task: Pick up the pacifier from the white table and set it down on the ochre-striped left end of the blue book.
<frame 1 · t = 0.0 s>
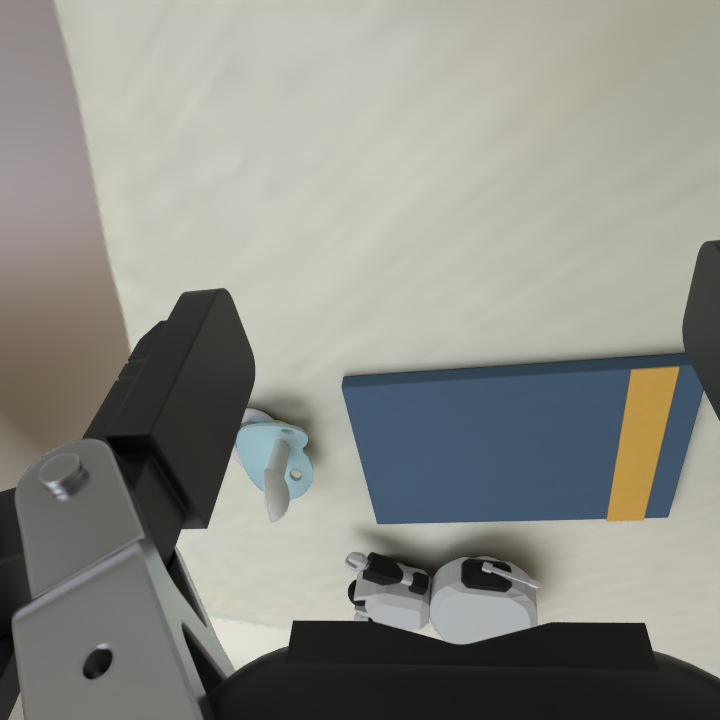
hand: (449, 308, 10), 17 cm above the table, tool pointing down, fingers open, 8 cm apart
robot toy: (439, 570, 49), on the table
blue book: (514, 445, 38), on the table
pacifier: (270, 434, 40), on the table
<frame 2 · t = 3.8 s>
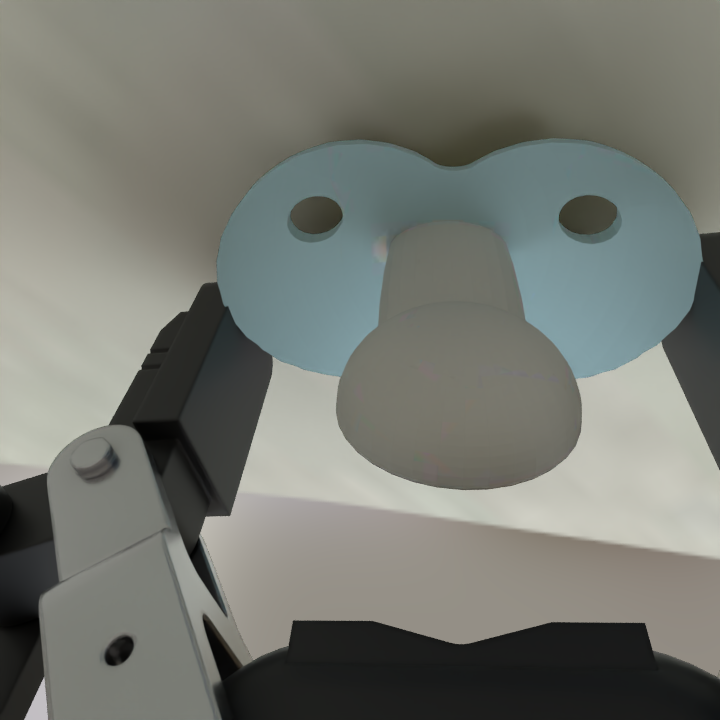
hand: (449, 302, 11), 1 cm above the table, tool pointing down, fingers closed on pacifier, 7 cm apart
pacifier: (442, 261, 12), on the table, touching gripper
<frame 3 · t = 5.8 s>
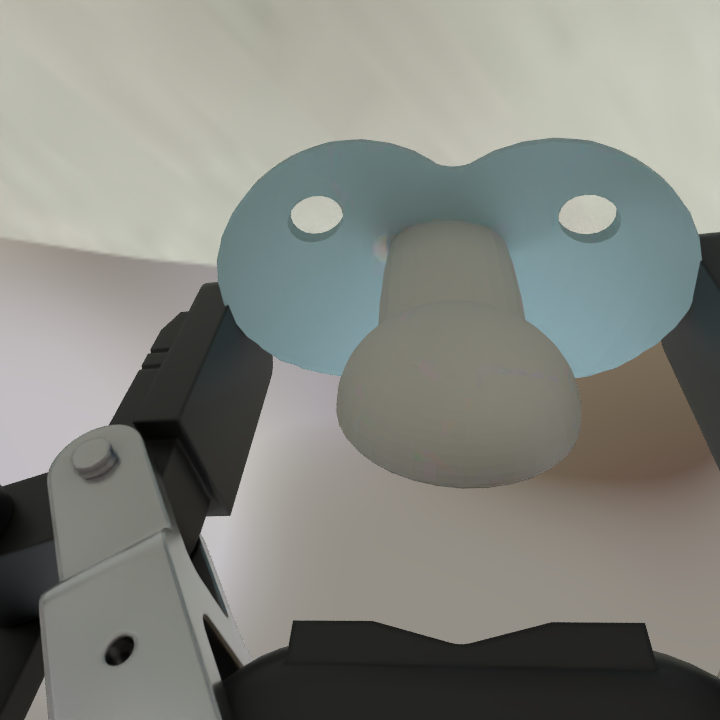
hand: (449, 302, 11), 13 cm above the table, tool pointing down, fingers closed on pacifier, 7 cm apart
pacifier: (442, 261, 12), point 11 cm above the table, touching gripper
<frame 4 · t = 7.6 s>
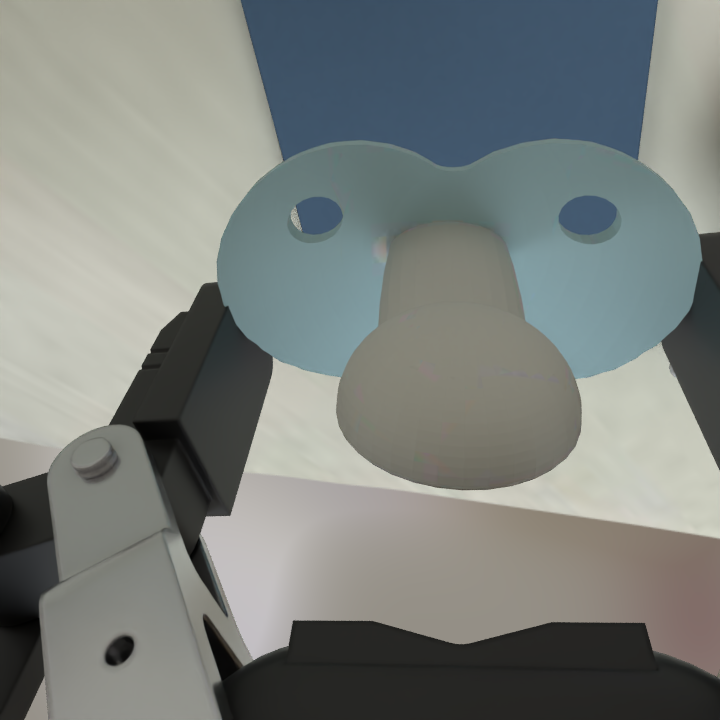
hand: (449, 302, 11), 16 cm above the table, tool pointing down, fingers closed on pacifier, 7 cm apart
blue book: (453, 129, 24), on the table
pacifier: (442, 262, 12), point 14 cm above the table, touching gripper
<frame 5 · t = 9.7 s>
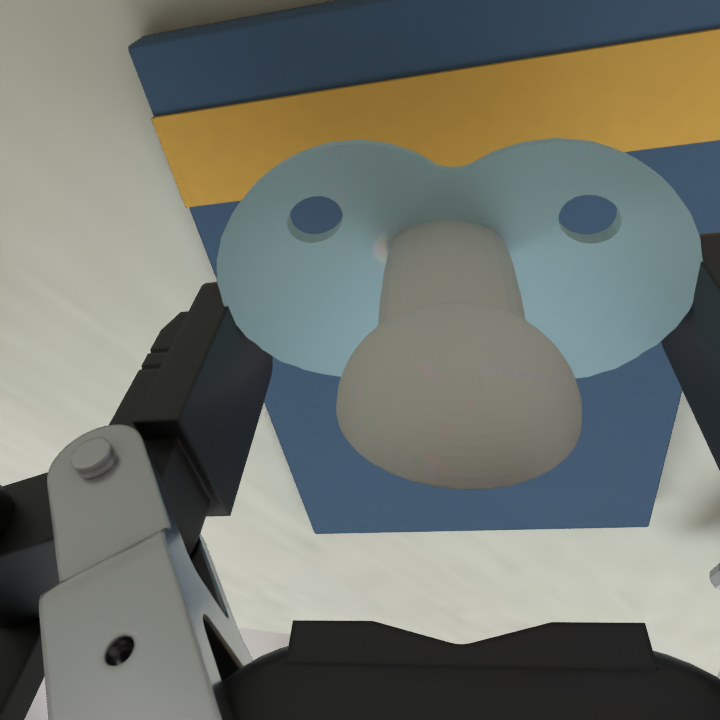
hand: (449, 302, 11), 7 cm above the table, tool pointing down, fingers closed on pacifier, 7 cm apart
blue book: (457, 333, 20), on the table
pacifier: (442, 261, 12), point 5 cm above the table, touching gripper
when the fingers open (2 cm above the table, at t = 11.5 s): pacifier stays where it is, resting on blue book.
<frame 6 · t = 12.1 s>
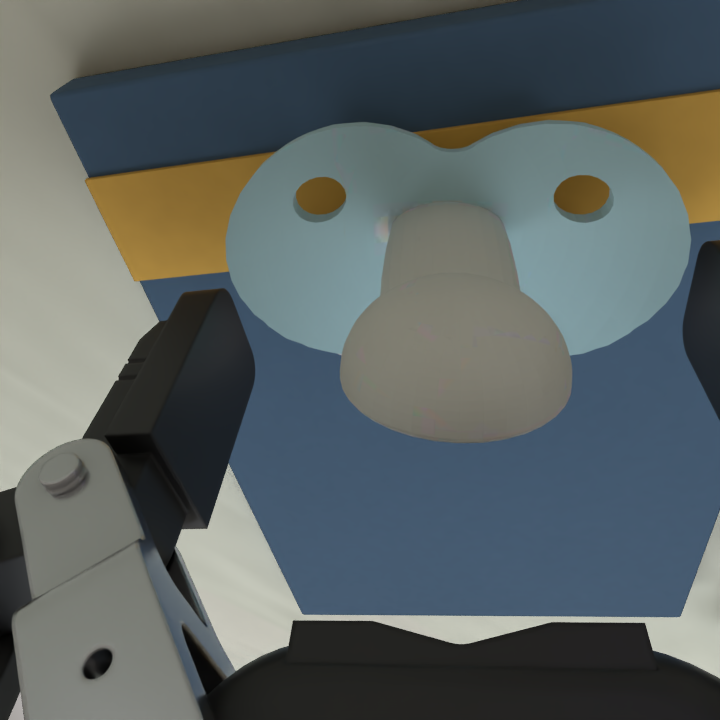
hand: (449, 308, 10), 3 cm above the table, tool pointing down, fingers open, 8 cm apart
blue book: (464, 413, 17), on the table
pacifier: (442, 244, 12), point 1 cm above the table, touching blue book
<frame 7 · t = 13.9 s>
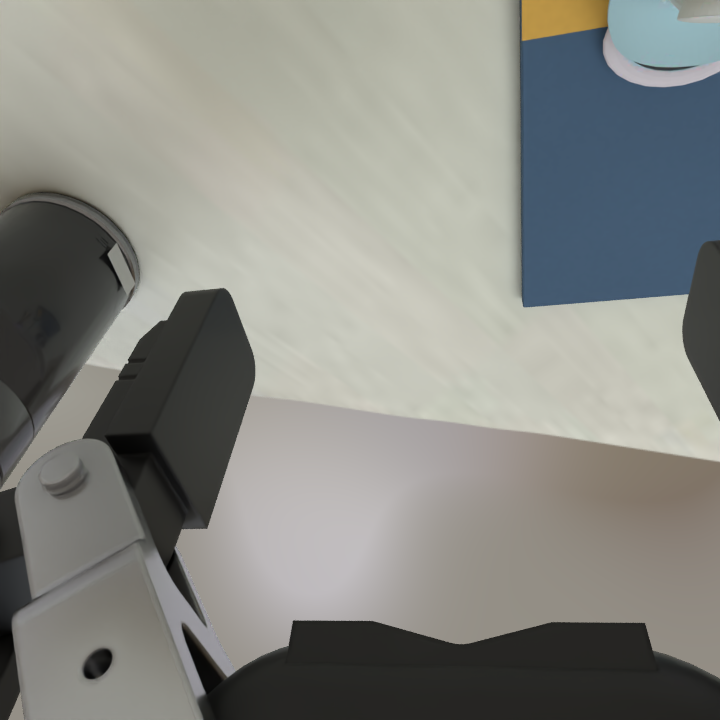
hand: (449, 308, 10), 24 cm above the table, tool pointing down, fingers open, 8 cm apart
blue book: (656, 135, 31), on the table
pacifier: (677, 13, 27), point 1 cm above the table, touching blue book
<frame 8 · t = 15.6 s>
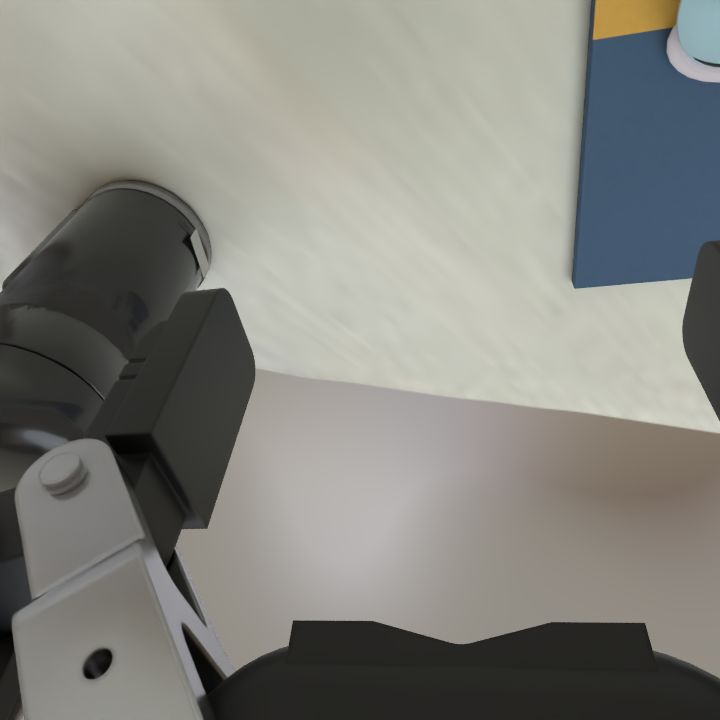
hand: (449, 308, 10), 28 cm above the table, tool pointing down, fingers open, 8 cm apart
blue book: (706, 127, 35), on the table
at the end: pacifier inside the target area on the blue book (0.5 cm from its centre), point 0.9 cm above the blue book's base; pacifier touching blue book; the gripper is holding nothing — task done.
